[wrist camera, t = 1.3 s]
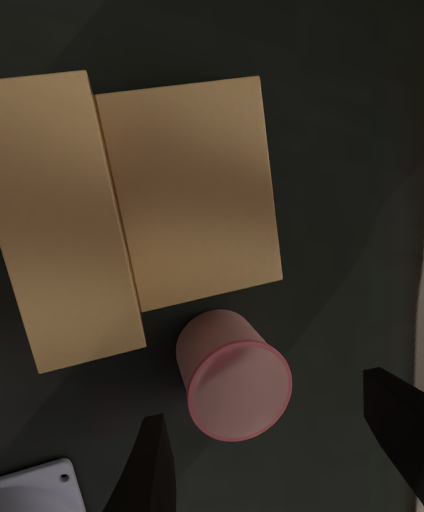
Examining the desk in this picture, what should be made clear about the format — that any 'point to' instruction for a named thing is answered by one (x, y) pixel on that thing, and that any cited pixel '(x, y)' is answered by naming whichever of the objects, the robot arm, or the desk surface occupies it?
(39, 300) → the step shelf
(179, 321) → the desk surface
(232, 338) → the pink cylinder
